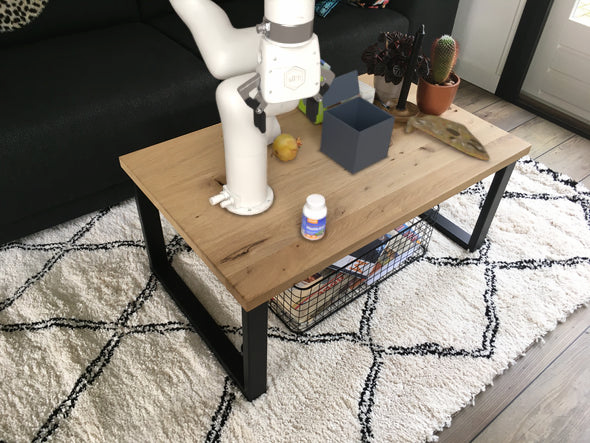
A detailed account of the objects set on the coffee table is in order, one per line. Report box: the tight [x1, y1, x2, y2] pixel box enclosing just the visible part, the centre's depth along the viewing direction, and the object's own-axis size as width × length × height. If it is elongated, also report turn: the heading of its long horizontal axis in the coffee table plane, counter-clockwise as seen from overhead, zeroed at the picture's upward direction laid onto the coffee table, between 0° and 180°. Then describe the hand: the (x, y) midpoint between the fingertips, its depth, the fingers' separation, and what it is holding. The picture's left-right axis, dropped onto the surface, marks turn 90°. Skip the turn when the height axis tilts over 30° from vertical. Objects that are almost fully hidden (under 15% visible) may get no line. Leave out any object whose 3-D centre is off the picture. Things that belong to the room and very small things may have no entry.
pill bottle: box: [300, 193, 328, 241], centre depth 111 cm, size 5×5×10 cm
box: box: [297, 58, 331, 125], centre depth 145 cm, size 10×4×17 cm, turn 29°
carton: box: [319, 96, 396, 175], centre depth 133 cm, size 13×13×12 cm
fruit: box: [270, 133, 303, 162], centre depth 132 cm, size 7×7×10 cm
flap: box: [322, 69, 360, 109], centre depth 130 cm, size 13×6×1 cm
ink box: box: [340, 79, 376, 104], centre depth 145 cm, size 8×5×12 cm, turn 39°
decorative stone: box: [404, 114, 491, 161], centre depth 144 cm, size 25×15×5 cm, turn 51°
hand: (286, 124), depth 89 cm, fingers open, 9 cm apart
